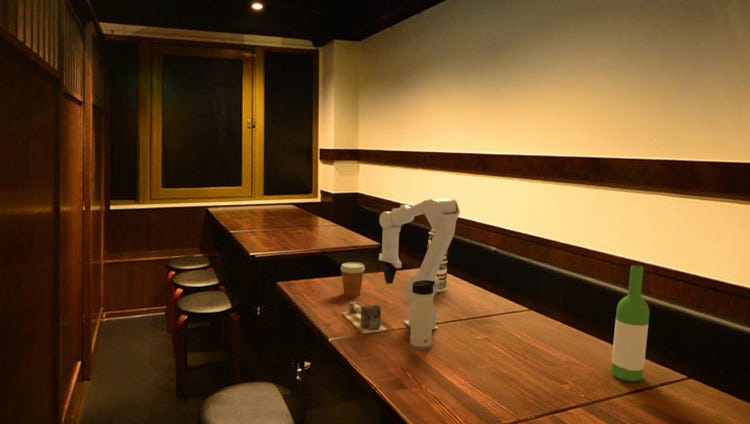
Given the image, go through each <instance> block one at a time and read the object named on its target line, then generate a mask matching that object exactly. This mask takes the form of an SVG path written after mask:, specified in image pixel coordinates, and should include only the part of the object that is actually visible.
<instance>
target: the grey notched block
mask: <svg viewBox="0 0 750 424" xmlns="http://www.w3.org/2000/svg"><path fill="white" fill-rule="evenodd" d="M360 307H361V326H362V327H364V328H369V323H368V317H369V316H373V317H374V318H378V319H379V326H380V324H381V319H382V318H381V317H382V315H381V312H382V308H381V307H380V306H379V305H376V304H375V305H367V306H360Z"/></svg>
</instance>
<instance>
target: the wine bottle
mask: <svg viewBox="0 0 750 424" xmlns="http://www.w3.org/2000/svg"><path fill="white" fill-rule="evenodd" d="M643 276H644V266H641V265H637V264H636V265H635V264H634V265H631V266H630V273H629V283H628V290H627V295H626V296H624V297H623V298H621V299H620V301H619V302H618V304H617V306H616V313H615V324H614V333H613V334H614V335H613V343H612V352H611V353H612V355H611V356H612V357H611V366H610V370H611V373H612V375H613V376H614V377H616V378H617V379H619V380H622V381H626V382H638V381H641V380H642V379H643V377H644V369H645V368H644V367H645V362H646V352H647V350H646V349H647V344H648V343H647V340H648V331H649V319H650V308H649V305H648V303H647V302H646V301H645V300H644V298H642V288H643V278H644V277H643Z"/></svg>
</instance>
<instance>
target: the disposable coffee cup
mask: <svg viewBox="0 0 750 424" xmlns="http://www.w3.org/2000/svg"><path fill="white" fill-rule="evenodd" d="M365 270H366V268H365V265H364V264H363V263H361V262H345V263H342V264H341V266H340V271H341V278H342V287H343V295H344V296H345V297H347V298H348V297H349V298H356V297H360V296H361V292H362V285H363V278H364V272H365Z"/></svg>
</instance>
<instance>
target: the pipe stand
mask: <svg viewBox="0 0 750 424" xmlns="http://www.w3.org/2000/svg"><path fill="white" fill-rule="evenodd" d="M361 307H362V306H360V305H359V302H358V301H356V300H355V301H349V302H348V311H343V312H341V315H342V316H344V318H345V319H347V320H348V321H349V322H350V323H351V324H352V325H353V326H354V327H355V328H356V329H358V330H359V332H361V333H362V334H372V333H379V332H386V331H387V327H385V326H383V325H382V324H381V323H380V326H379V319H378V318H374V317H373V316H369V317H368V323H369V328H364V327H362V326H361Z"/></svg>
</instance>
